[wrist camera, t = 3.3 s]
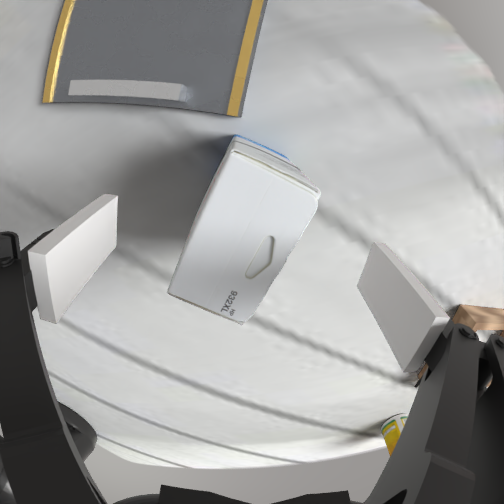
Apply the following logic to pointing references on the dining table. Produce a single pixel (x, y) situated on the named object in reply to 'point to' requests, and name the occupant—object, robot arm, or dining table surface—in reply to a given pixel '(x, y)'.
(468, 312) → the stand
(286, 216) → the ink box
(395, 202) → the dining table surface
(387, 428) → the supplement bottle
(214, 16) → the grey tray
